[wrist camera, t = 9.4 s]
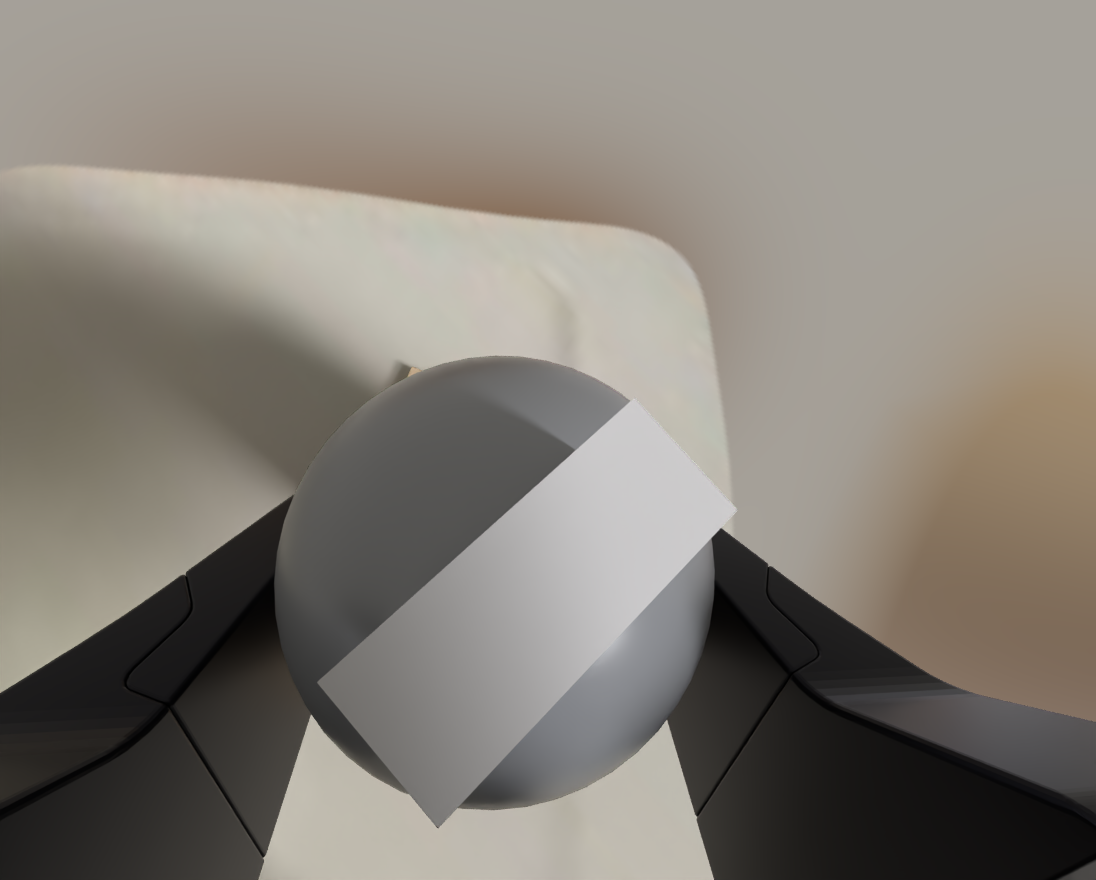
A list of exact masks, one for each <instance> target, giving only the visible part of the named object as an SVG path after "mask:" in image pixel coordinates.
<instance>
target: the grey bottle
mask: <svg viewBox="0 0 1096 880" xmlns="http://www.w3.org/2000/svg"><path fill="white" fill-rule="evenodd" d="M736 511H737V508H736V507H735V506H734V505H733V504H732V503H731V502H730V501H729V500H728V499H727V498H726V496H725V495H724V494H723V493H722V492H721V491H720V490H719V489H718V488H717V487H716V486H715V484H714V483H713V482H712V481H711V480H710V479H709V478H708V477H707V476H706V475H705V474H704V472H703V471H702V470H701V469H700V468H699V467H698V466H697V465H696V464H695V463H694V462H693V460H692V459H691V458H690V457H689V456H688V455H687V454H686V453H685V452H684V451H683V450H682V448H681V447H680V446H679V445H678V444H677V443H676V442H675V441H674V440H673V439H672V438H671V436H670V435H669V434H668V433H667V432H666V431H665V430H664V429H663V428H662V427H661V426H660V424H659V423H658V422H657V421H656V420H655V419H654V418H653V417H652V416H651V415H650V414H649V412H648V411H647V410H646V409H645V408H644V407H643V406H642V405H641V404H640V403H639V402H638V400H637V399H636V398H634V399H632V400H631V401H630V400H629V399H627V398H626V397H625V396H623V395H622V394H621V393H619V392H618V391H616V390H615V389H613V388H611V387H610V386H608V385H606V384H604V383H603V382H601V381H599V380H598V379H596V378H594V377H591V376H589V375H587V374H584V373H582V372H580V371H577V370H575V369H573V368H570V367H566V366H563V365H559V364H556V363H552V362H549V361H544V360H538V359H532V358H526V357H513V356H488V357H476V358H467V359H463V360H458V361H453V362H449V363H444V364H441V365H438V366H435V367H432V368H429V369H426V370H423V371H420V372H417V373H415V374H413V375H411V376H409V377H407V378H405V379H403V380H401V381H399V382H397V383H395V384H393V385H391V386H390V387H388V388H387V389H385V390H384V391H382V392H381V393H379V394H377V395H376V396H374V397H373V398H371V399H370V400H368V401H367V402H366V403H365V404H364V405H362V406H361V407H360V408H359V409H358V410H357V411H355V412H354V413H353V414H352V415H351V416H350V417H348V418H347V419H346V420H345V421H344V422H343V423H342V425H341V426H340V427H339V428H338V429H337V430H336V431H335V432H334V433H333V434H332V436H331V437H330V438H329V439H328V440H327V441H326V442H325V444H324V445H323V447H322V448H321V450H320V451H319V452H318V454H317V455H316V457H315V458H314V459H313V461H312V462H311V464H310V465H309V467H308V469H307V471H306V473H305V474H304V476H303V478H302V480H301V482H300V484H299V486H298V488H297V490H296V491H295V494H294V497H293V499H292V502H291V505H290V507H289V510H288V513H287V515H286V518H285V521H284V524H283V529H282V533H281V537H280V542H279V546H278V550H277V559H276V569H275V580H274V591H275V615H276V621H277V626H278V632H279V637H280V643H281V648H282V651H283V654H284V657H285V660H286V663H287V666H288V669H289V672H290V675H291V678H292V680H293V682H294V684H295V686H296V688H297V690H298V692H299V694H300V696H301V698H302V700H303V702H304V704H305V706H306V707H307V709H308V710H309V711H310V713H311V714H312V716H313V717H314V719H315V720H316V721H317V723H318V724H319V726H320V727H321V729H322V730H323V731H324V733H325V734H326V735H327V736H328V737H329V738H330V739H331V740H332V741H333V742H334V743H335V744H336V745H337V746H338V747H339V749H340V750H341V751H342V752H343V753H344V754H345V755H346V756H347V757H349V758H350V759H351V760H352V761H354V762H355V763H356V764H358V765H359V766H360V767H362V768H363V769H364V770H365V771H367V772H368V773H369V774H371V775H372V776H373V777H375V778H377V779H379V780H381V781H383V782H384V783H386V784H388V785H390V786H392V787H393V788H395V789H397V790H399V791H401V792H404V793H406V794H409V795H410V796H411V797H412V798H413V799H414V800H415V802H416V803H417V804H418V805H419V806H420V808H421V809H422V810H423V811H424V812H425V814H426V815H427V816H428V817H429V818H430V820H431V821H432V822H433V823H434V825H435V826H436V827H437V828H439V827H440V826H441V825H442V824H443V823H444V822H445V820H446V819H447V818H448V817H449V816H450V815H451V814H452V813H453V812H454V811H455V810H456V809H457V808H461V809H481V810H500V809H509V808H519V807H528V806H531V805H535V804H539V803H543V802H547V801H551V800H555V799H558V798H561V797H563V796H566V795H568V794H571V793H573V792H575V791H578V790H580V789H583V788H585V787H587V786H589V785H591V784H592V783H594V782H596V781H597V780H599V779H601V778H603V777H604V776H606V775H608V774H609V773H611V772H613V771H614V770H615V769H617V768H618V767H619V766H620V765H622V764H623V763H624V762H626V761H627V760H628V759H629V758H631V757H632V756H633V755H635V754H636V753H637V752H638V751H639V750H640V749H641V748H642V747H643V746H644V745H645V744H646V743H647V742H648V741H649V740H650V739H651V738H652V737H653V736H654V735H655V734H656V733H657V732H658V730H659V729H660V728H661V726H662V725H663V724H664V722H665V721H666V720H667V718H668V717H669V716H670V714H671V713H672V712H673V710H674V709H675V708H676V706H677V704H678V703H679V701H680V699H681V697H682V696H683V694H684V692H685V690H686V689H687V687H688V685H689V683H690V682H691V679H692V677H693V674H694V672H695V670H696V667H697V665H698V662H699V660H700V658H701V655H702V652H703V648H704V645H705V641H706V638H707V634H708V631H709V627H710V621H711V614H712V607H713V601H714V577H715V569H714V557H713V546H712V540H711V538H712V537H713V536H714V535H715V534H716V533H717V531H718V530H719V529H720V528H721V527H722V526H723V525H724V524H725V523H726V522H727V521H728V520H729V519H730V518H731V517H732V516H733V514H734V513H735V512H736Z"/></svg>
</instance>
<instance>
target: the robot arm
mask: <svg viewBox="0 0 1096 880" xmlns="http://www.w3.org/2000/svg"><path fill="white" fill-rule="evenodd" d="M293 497H294V495H292V496H291V497H289V498H288V499H287V500H285V501H284V502H283V503H281V504H280V505H278V506H277V507H276V508H274V509H273V510H271V511H270V512H269V513H267V514H266V515H264V516H263V517H262V518H260V519H259V520H258V521H256V522H255V523H253V524H252V525H251V526H249V527H248V528H246V529H245V530H244V531H242V532H241V533H239V534H238V535H237V536H235V537H234V538H232V539H231V540H230V541H228V542H227V543H226V544H224V545H223V546H221V547H220V548H219V549H217V550H216V551H214V552H213V553H212V554H210V555H209V556H207V557H206V558H205V559H203V560H202V561H201V562H199V563H198V564H196V565H195V566H194V567H192V568H191V569H189V570H188V571H187V572H186V575H181V576H179V577H178V578H177V579H175V580H174V581H172V582H171V583H170V584H168V585H167V586H165V587H164V588H163V589H161V590H160V591H158V592H157V593H156V594H154V595H153V596H151V597H150V598H148V599H147V600H145V601H144V602H143V603H141V604H140V605H138V606H137V607H135V608H134V609H132V610H131V611H130V612H128V613H127V614H125V615H124V616H122V617H121V618H119V619H117V620H116V621H114V622H113V623H111V624H110V625H108V626H107V627H105V628H103V629H102V630H100V631H99V632H97V633H96V634H94V635H93V636H91V637H89V638H88V639H86V640H85V641H83V642H82V643H80V644H79V645H77V646H75V647H74V648H72V649H71V650H69V651H67V652H66V653H64V654H62V655H61V656H59V657H58V658H56V659H54V660H53V661H51V662H50V663H48V664H46V665H45V666H43V667H42V668H40V669H38V670H37V671H35V672H34V673H32V674H30V675H29V676H27V677H26V678H24V679H22V680H21V681H19V682H18V683H16V684H14V685H13V686H11V687H10V688H8V689H6V690H5V691H3V692H1V693H0V880H258V879H259V875H260V872H261V869H262V866H263V863H264V859H263V857H265V855H266V853H267V850H268V846H269V843H270V840H271V837H272V834H273V831H274V828H275V825H276V822H277V818H278V815H279V812H280V809H281V806H282V803H283V800H284V797H285V793H286V790H287V787H288V784H289V781H290V778H291V775H292V772H293V768H294V765H295V762H296V759H297V756H298V753H299V750H300V747H301V743H302V740H303V737H304V734H305V731H306V728H307V725H308V722H309V719H310V715H311V713H310V711H309V710H308V709H307V707H306V706H305V704H304V702H303V700H302V698H301V696H300V694H299V692H298V690H297V688H296V686H295V684H294V682H293V680H292V678H291V675H290V672H289V669H288V666H287V663H286V660H285V657H284V654H283V651H282V648H281V643H280V637H279V632H278V626H277V621H276V615H275V591H274V580H275V569H276V559H277V550H278V546H279V542H280V537H281V533H282V529H283V524H284V521H285V518H286V515H287V513H288V510H289V507H290V505H291V502H292V499H293ZM711 540H712V546H713V557H714V569H715V577H714V601H713V607H712V614H711V621H710V627H709V631H708V634H707V638H706V641H705V645H704V648H703V652H702V655H701V658H700V660H699V662H698V665H697V667H696V670H695V672H694V674H693V677H692V679H691V682H690V683H689V685H688V687H687V689H686V690H685V692H684V694H683V696H682V697H681V699H680V701H679V703H678V704H677V706H676V708H675V709H674V710H673V712H672V713H671V714H670V716H669V717H668V718H667V721H668V724H669V728H670V731H671V734H672V738H673V741H674V745H675V748H676V751H677V755H678V758H679V761H680V765H681V768H682V772H683V775H684V778H685V782H686V785H687V788H688V792H689V795H690V799H691V802H692V805H693V809H694V812H695V815H696V816H697V823H698V826H699V830H700V833H701V837H702V840H703V843H704V847H705V850H706V853H707V857H708V860H709V864H710V867H711V870H712V874H713V877H714V880H1096V722H1093V721H1089V720H1085V719H1081V718H1076V717H1072V716H1068V715H1063V714H1059V713H1055V712H1050V711H1046V710H1042V709H1038V708H1033V707H1028V706H1025V705H1020V704H1016V703H1012V702H1007V701H1003V700H999V699H994V698H990V697H986V696H982V695H978V694H975V693H972V692H969V691H966V690H963V689H960V688H957V687H955V686H953V685H950V684H948V683H946V682H943V681H942V680H940V679H938V678H936V677H934V676H932V675H930V674H929V673H927V672H925V671H924V670H922V669H920V668H919V667H917V666H916V665H914V664H913V663H911V662H910V661H908V660H906V659H905V658H903V657H902V656H900V655H899V654H897V653H896V652H894V651H893V650H891V649H890V648H888V647H887V646H885V645H884V644H882V643H881V642H879V641H878V640H876V639H875V638H873V637H872V636H870V635H869V634H867V633H866V632H864V631H862V630H861V629H859V628H858V627H856V626H855V625H853V624H852V623H850V622H849V621H847V620H846V619H844V618H843V617H841V616H840V615H838V614H837V613H836V612H834V611H833V610H831V609H830V608H828V607H827V606H825V605H824V604H822V603H821V602H819V601H818V600H816V599H815V598H814V597H812V596H811V595H809V594H808V593H807V592H805V591H804V590H802V589H801V588H800V587H798V586H797V585H796V584H794V583H793V582H792V581H790V580H789V579H788V578H786V577H785V576H784V575H782V574H781V573H780V572H778V571H777V570H776V569H774V568H773V567H771V566H769V567H768V564H767V563H766V562H765V561H764V560H762V559H761V558H760V557H758V556H757V555H756V554H754V553H753V552H752V551H750V550H749V549H748V548H747V547H745V546H744V545H743V544H741V543H740V542H739V541H737V540H736V539H735V538H734V537H732V536H731V535H730V534H728V533H727V532H726V531H724V530H723V529H722V528H720V529H719V530H718V531H717V533H716V534H715V535H714V536H713V537H712V538H711Z"/></svg>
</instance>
